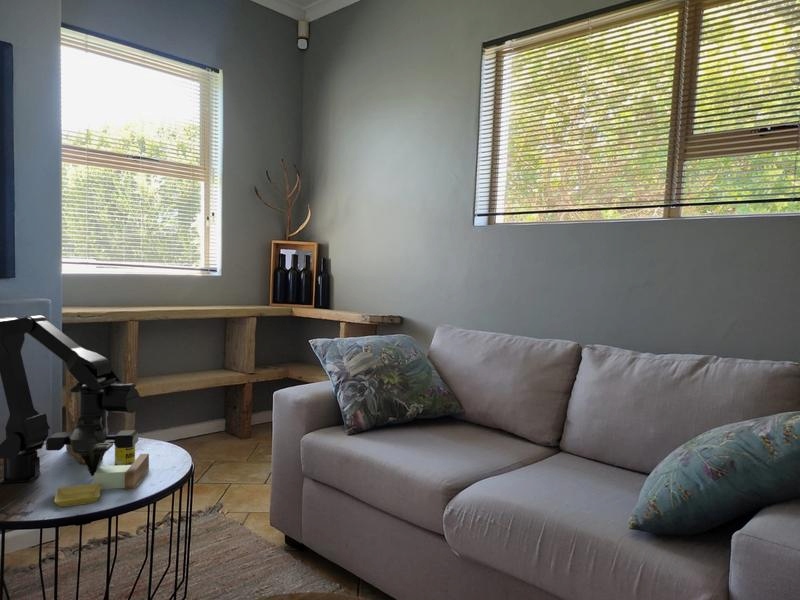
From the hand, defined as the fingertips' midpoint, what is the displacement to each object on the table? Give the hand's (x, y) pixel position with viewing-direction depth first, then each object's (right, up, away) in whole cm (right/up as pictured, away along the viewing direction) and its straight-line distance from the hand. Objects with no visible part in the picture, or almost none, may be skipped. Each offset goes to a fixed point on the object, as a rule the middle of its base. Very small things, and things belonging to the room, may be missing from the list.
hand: (93, 475), depth 135 cm
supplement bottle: (+1, -2, +13) cm, 13 cm away
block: (+5, -2, 0) cm, 5 cm away
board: (+9, -2, +4) cm, 10 cm away
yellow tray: (+1, -3, -9) cm, 9 cm away
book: (-13, -1, +20) cm, 24 cm away
